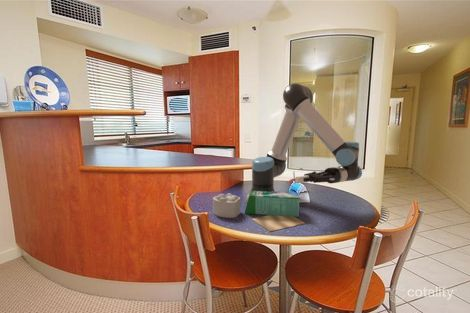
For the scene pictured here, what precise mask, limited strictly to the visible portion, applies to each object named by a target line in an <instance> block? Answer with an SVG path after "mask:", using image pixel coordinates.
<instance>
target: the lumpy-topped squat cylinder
mask: <svg viewBox="0 0 470 313" xmlns="http://www.w3.org/2000/svg"><path fill="white" fill-rule="evenodd" d="M241 203H242V201H241V197H240V196H237V195H235V194H232V193H230V192H229V193H226V194H224V193H220V194H218V195H214V196H213V198H212V213H213V215H215V216H217V217H220V218H228V219H231V218H233V219H235V218H237V217H238V215H240V214H241V212H242V211H241V210H242V209H241V206H242V205H241Z"/></svg>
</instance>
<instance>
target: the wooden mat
mask: <svg viewBox="0 0 470 313" xmlns="http://www.w3.org/2000/svg"><path fill="white" fill-rule="evenodd" d="M251 220H252V221H254V222H255V223H257V224H258V225H260V227H262V228H264V229H265V230H267V231H268V232H271V233H272V232H275V231H279V230H283V229H287V228H292V227H297V226H302V225H305V224H306V223H305V222H304V221H302V220H300V219H298V217H292V216H277V215H262V216H259V217H254V218H251Z"/></svg>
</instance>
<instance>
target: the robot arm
mask: <svg viewBox="0 0 470 313" xmlns="http://www.w3.org/2000/svg"><path fill="white" fill-rule="evenodd" d="M282 99H283V102H284V104H285V105H284V109H285V112H284V116H283V119H282V122H281V123H280V127H279V130H278V132H277V134H276V137H275V139H274V143H273V146H272V148H271V150H269V151H267V155H266V156H259V157H256V158H254V159H253V160H252V165H251V174H252V175H251V182H252V183H251V189H250V192H249V193H248V194H249V195H250V193H251V191H252V190H253V191H272V192H276V191H275V188H274V179H275V178H277V177H279V176H281V175H282V174H283V173H284V172H285V170H286V168H287V163H286V162H287V160H288V158H287V152H288V150H289V147H290V145H291V142H292V140H293V138H294V135H295V132H296V130H297V127H298V124H299V122H300V119H302V121H303V122H304V123H305V124H306V125H307V126H308V127H309V129H311V130H312V132H313V133H314V134H315V135H316V136H317V138H318V139H319V140H320V141H321V142H322V144H324V146H325V147H326V148H327V149H328V150H329V151H330V152H331V154H332V156H334V157H335V160H336V163H338V166H335V167H332V166H331V167H327V168H325V170H324V171H319V172H318V171H312V172H307V173H305V174H303V175H299V176H298V175H297V176H295V183H302V184H304V183H314V184H316V183H317V184H318V183H327V184H337V183H343V182H352V181H355V180H359V179H360V178H361V177H362V174H363V170H362V167H360V166H359V153H360V143H359V142H357V141H345V140H344V139H343V138H342V137H341V136H340V134H339V133H338V132H337V131H336V130H335V129H334V128H333V127H332V125H331V124H330V123H329V121H327V120H326V119H325V118H324V117H323V115H322V114H321V113H320V112H319V111H318V110H317V109H316V108H315V107H314V105H313V104H312V103H313V101H314V93H313V91H312V90H311V89H310V88H309V87H308V86H305V85H302V84H300V83H295V82H294V83H291V84H289V85H287V86H286V87H285V88H284V90H283V93H282Z"/></svg>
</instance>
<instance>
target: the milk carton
mask: <svg viewBox="0 0 470 313" xmlns="http://www.w3.org/2000/svg"><path fill="white" fill-rule="evenodd" d="M250 191H251V190H250ZM249 194H250V195H249ZM245 203H246V206H245V210H244V215H245V214H246V215H257V216H268V215H277V216H292V217H295V218H299V215H300V213H299V212H300V196H299V192H293V191H292V192H291V191H290V192H288V191H286V192H285V191H275V192H272V191H253V190H252V191H251V193H250V192H249V193H247V195H246V198H245Z"/></svg>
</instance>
